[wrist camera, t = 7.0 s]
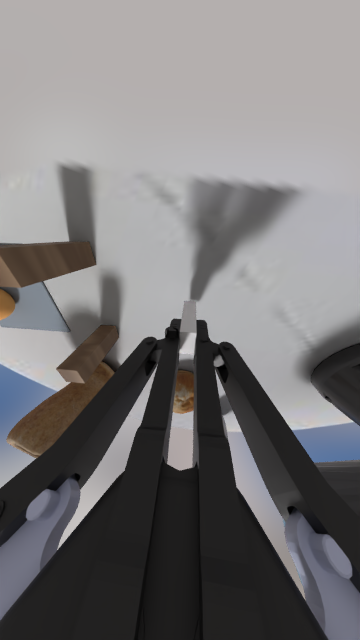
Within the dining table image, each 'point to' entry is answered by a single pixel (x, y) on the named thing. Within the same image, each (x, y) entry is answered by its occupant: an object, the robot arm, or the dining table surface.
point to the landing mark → (34, 309)
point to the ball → (6, 304)
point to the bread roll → (184, 392)
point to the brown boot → (56, 414)
